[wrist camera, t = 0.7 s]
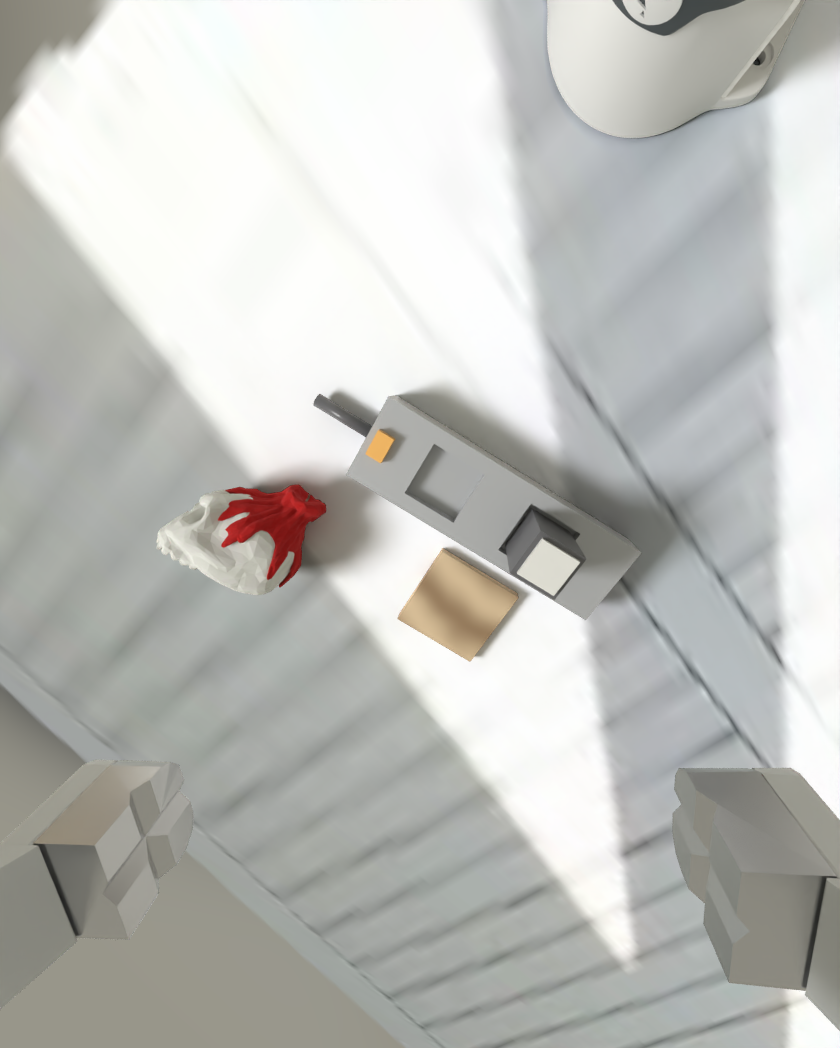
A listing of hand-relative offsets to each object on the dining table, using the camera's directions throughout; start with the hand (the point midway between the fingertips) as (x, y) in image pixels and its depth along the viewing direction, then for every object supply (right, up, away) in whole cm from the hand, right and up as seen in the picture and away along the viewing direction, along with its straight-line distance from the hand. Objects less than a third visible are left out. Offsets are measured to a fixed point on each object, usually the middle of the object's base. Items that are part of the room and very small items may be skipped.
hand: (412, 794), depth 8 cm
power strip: (+4, +8, +37) cm, 38 cm away
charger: (+11, +3, +35) cm, 37 cm away
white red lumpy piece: (-15, +5, +41) cm, 44 cm away
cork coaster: (+4, -4, +41) cm, 41 cm away
